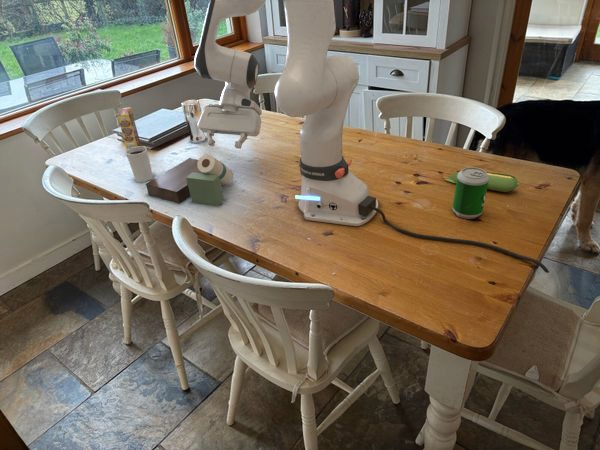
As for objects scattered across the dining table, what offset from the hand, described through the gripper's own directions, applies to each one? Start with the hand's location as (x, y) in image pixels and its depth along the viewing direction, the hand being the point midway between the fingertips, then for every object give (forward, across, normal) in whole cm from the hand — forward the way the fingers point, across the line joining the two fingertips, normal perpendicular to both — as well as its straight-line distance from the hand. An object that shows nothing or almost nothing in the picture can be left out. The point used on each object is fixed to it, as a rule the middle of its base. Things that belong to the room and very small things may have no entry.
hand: (223, 146), depth 134 cm
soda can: (+10, +72, +6) cm, 73 cm away
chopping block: (+13, -12, +4) cm, 18 cm away
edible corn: (-1, +75, +17) cm, 77 cm away
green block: (+18, 0, -2) cm, 18 cm away
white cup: (+12, -30, +4) cm, 32 cm away
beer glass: (-11, -29, +28) cm, 42 cm away
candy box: (-2, -48, +18) cm, 52 cm away
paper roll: (+13, 0, +3) cm, 13 cm away
